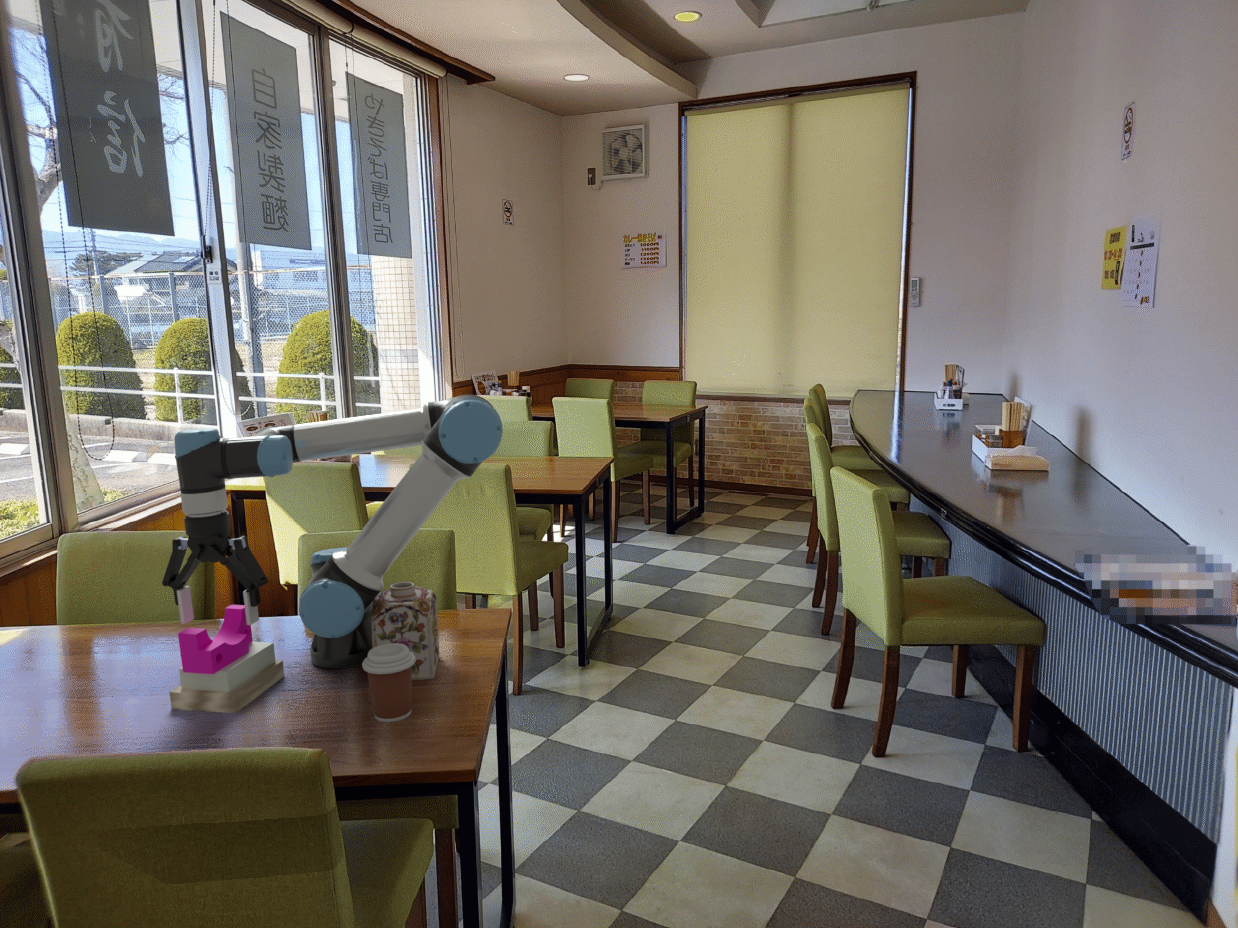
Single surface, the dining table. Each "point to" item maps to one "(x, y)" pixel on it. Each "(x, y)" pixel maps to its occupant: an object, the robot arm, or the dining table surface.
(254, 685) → the tower base slab
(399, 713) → the coffee cup
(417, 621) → the decorative jar
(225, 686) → the tower top slab
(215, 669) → the toy block
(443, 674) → the dining table surface
